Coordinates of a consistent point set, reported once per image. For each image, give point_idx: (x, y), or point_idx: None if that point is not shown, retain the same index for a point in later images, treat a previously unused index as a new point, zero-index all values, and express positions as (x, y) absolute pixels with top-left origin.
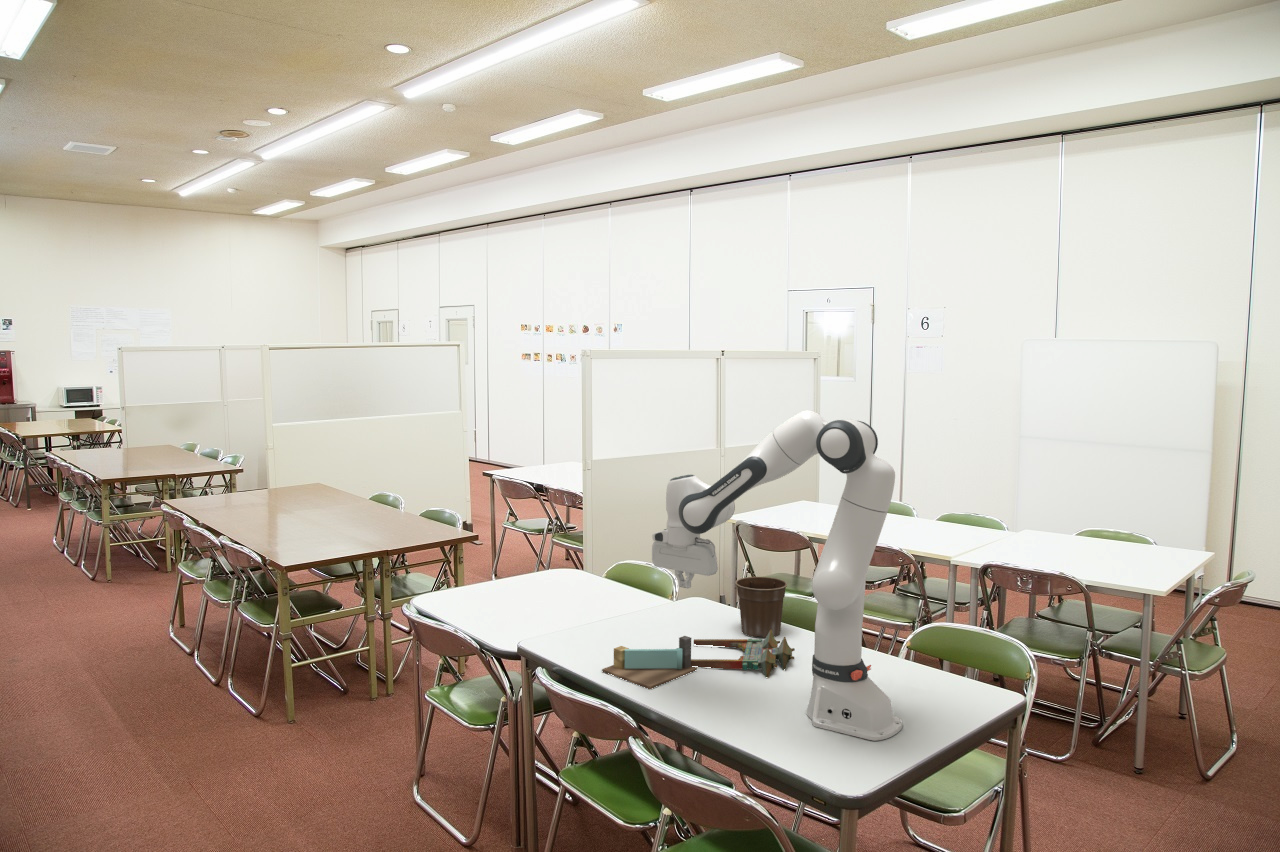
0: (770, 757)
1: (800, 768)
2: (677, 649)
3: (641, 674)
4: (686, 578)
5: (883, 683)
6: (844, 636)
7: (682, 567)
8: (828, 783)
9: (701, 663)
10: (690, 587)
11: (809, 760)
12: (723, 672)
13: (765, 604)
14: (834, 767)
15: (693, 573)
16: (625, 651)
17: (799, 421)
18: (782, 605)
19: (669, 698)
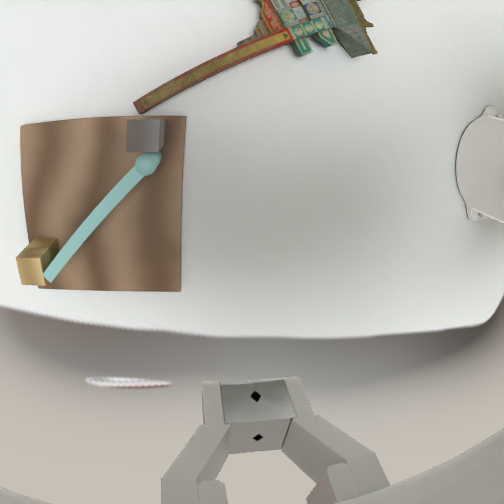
0: (437, 322)
1: (461, 316)
2: (144, 172)
3: (112, 253)
4: (309, 473)
5: (483, 9)
6: None
7: None
8: (478, 318)
9: (183, 89)
10: (296, 377)
11: (467, 297)
12: (250, 79)
13: None
14: (484, 291)
15: (376, 473)
16: (52, 280)
17: None
18: None
19: (242, 291)
